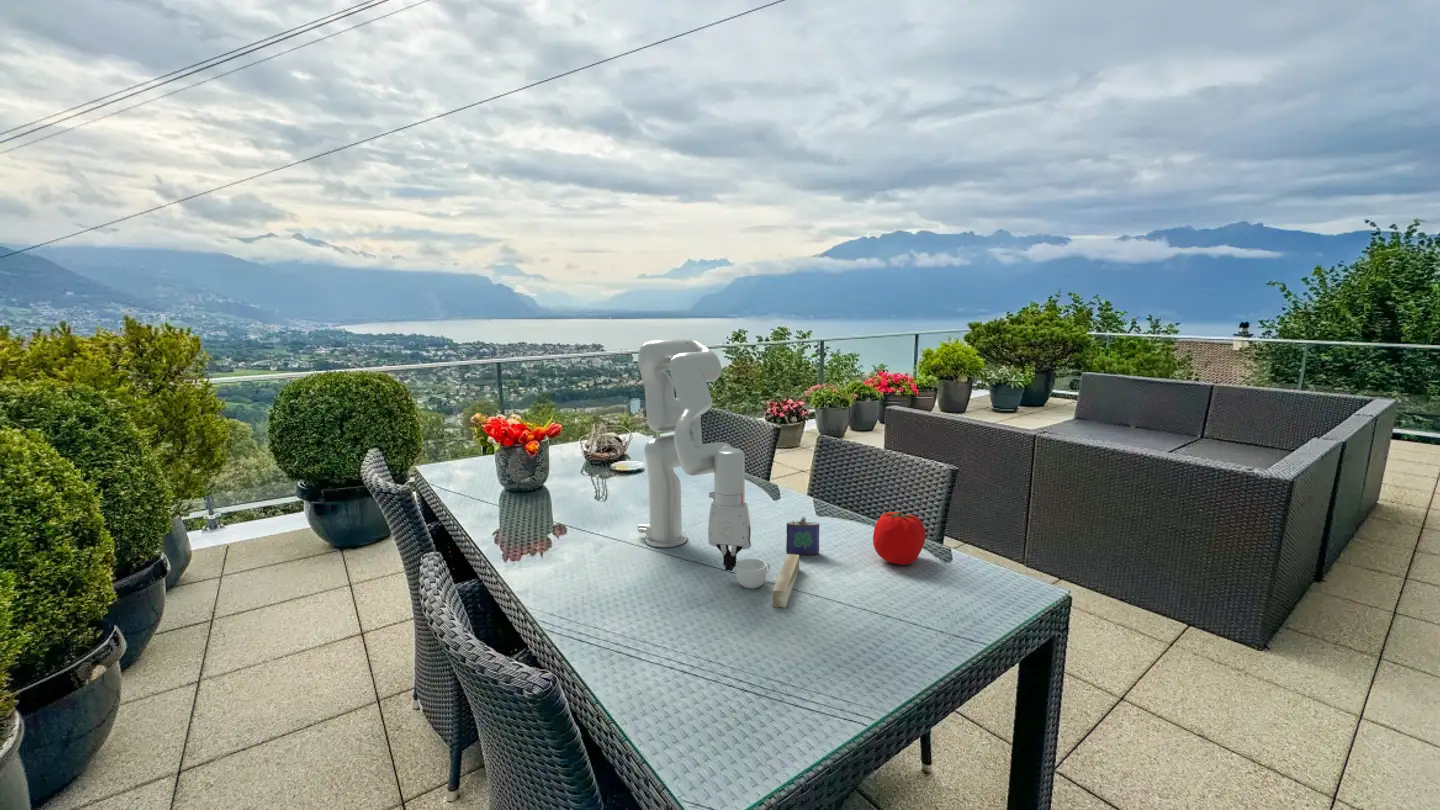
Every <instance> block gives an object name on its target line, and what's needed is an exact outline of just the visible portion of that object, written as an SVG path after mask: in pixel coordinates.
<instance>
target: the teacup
mask: <svg viewBox="0 0 1440 810" xmlns="http://www.w3.org/2000/svg"><path fill="white" fill-rule="evenodd" d="M770 569H771V564H770V563H769V562H768V561H765V560H764V559H760V558H757V557H747V558H742V559H739V560H736V567H735V575H736V580H737V582H738V584H740V585H741V586H742V587H743V588H746V589H750V590H751V589H752V590H753V589H757V588H760V587H761V586H762V585H764V584H765V581H766V577H767V573H769V571H770Z"/></svg>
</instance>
